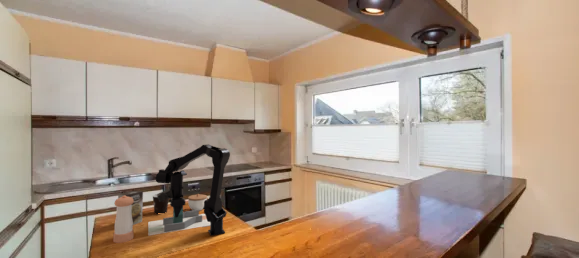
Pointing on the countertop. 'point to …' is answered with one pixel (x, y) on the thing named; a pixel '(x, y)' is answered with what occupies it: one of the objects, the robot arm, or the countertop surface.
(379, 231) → the countertop surface
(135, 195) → the coffee box
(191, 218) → the channel
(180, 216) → the teal peg
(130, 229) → the pepper shaker
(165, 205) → the coffee mug
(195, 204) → the lidded jar
